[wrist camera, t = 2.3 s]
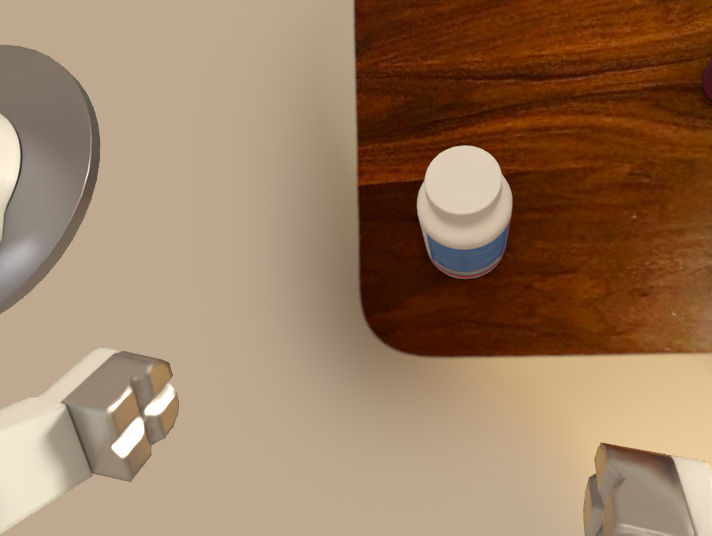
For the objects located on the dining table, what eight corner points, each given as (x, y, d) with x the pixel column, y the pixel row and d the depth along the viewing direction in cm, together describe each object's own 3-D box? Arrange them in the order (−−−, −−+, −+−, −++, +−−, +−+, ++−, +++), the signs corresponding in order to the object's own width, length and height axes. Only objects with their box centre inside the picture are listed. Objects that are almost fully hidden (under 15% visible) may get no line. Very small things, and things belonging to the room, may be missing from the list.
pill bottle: (520, 259, 35) (538, 200, 26) (447, 293, 36) (440, 247, 27) (482, 193, 37) (485, 117, 28) (413, 227, 38) (394, 162, 29)
